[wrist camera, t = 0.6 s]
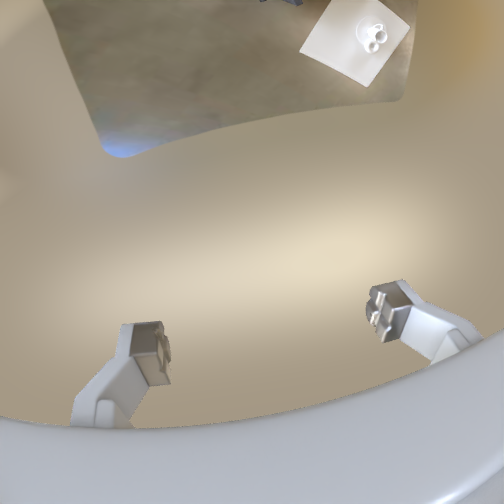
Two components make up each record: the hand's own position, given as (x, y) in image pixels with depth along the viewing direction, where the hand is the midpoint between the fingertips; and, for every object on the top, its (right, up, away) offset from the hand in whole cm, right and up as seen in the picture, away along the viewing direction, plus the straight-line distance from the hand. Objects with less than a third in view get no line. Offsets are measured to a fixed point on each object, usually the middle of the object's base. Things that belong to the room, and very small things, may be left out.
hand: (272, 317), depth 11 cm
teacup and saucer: (+21, +47, +36) cm, 63 cm away
